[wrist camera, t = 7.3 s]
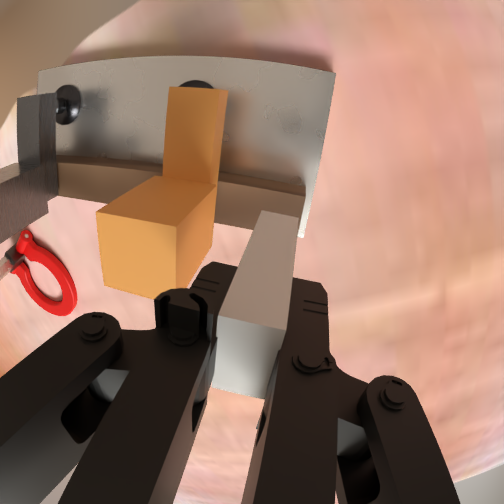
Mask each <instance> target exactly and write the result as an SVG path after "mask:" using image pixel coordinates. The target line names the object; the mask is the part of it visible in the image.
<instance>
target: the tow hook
mask: <svg viewBox="0 0 504 504" xmlns="http://www.w3.org/2000/svg"><path fill="white" fill-rule="evenodd" d="M32 238H33V236H32V233H31V232H30V231H28V230H23V231H22V232H21V234H20V237H19V239H18V242H17V243H16V244H15V245H14V246H13V247H11V248H10V249H9V250H8V251H6V253H5V256H4V257H3V258H2V259H1V260H0V280H1V279H2V278H4V277H5V276H6V275H7V274H8V273H9V272H10V273H12V274H16V275H17V276H18V277H19V278H20V280H21V283H22V284H23V286H24V288H25V290H26V291H27V293H28V294H29V295H30V297H31V298H32V299H33V300H34V301H35V302H36V303H37V304H38V305H39V306H40V307H42V308H43V309H44V310H46V311H48V312H50V313H51V314H54V315H58V316H66V315H68V314H70V313H71V312H72V311H73V309H74V308H75V306H76V304H77V292H76V288H75V285H74V282H73V280H72V278H71V277H70V275H69V273H68V271H67V270H66V268H65V267H64V266H63V264H62V263H61V262H60V261H59V260H58V259H57V258H56V257H55V256H54V255H53V254H52V253H50V252H49V251H48V250H46V249H44V248H42V247H40V246H37V245H36V243H35V242H34V241H33V240H32ZM25 256H26V257H27V258H28V259H29V260H30V261H36V262H39V263H41V264H43V265H44V266H45V267H47V268H48V269H49V270H50V271H51V272H52V273H53V275H54V276H55V278H56V279H57V281H58V282H59V284H60V286H61V289H62V294H63V299H62V301H60V302H56V301H52V300H50V299H48V298H47V297H46V296H44V295H43V294H42V293H41V292H40V291H39V290H38V288H37V287H36V286H35V284H34V282H33V281H32V279H31V276H30V273H29V269H28V267H27V266H26V265H25V264H24V263H23V261H24V258H25Z"/></svg>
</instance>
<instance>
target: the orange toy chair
mask: <svg viewBox="0 0 504 504" xmlns="http://www.w3.org/2000/svg"><path fill="white" fill-rule="evenodd" d="M227 98H228V90H221V89H209V88H194V87H169V93H168V103H167V114H166V126H165V139H164V155H163V175H162V176H154V177H152V178H150V179H148V180H147V181H145V182H143V183H141V184H140V185H138V186H136V187H135V188H133V189H131V190H130V191H128V192H126V193H125V194H123V195H122V196H120V197H118V198H117V199H115V200H113V201H112V202H110V203H109V204H107V205H106V206H104V207H102V208H101V209H99V210H98V211H96V220H97V232H98V241H99V250H100V259H101V266H102V273H103V280H104V286H107V287H111V288H114V289H118V290H121V291H125V292H128V293H132V294H135V295H139V296H142V297H146V298H150V299H153V300H154V299H155V298H156V297H157V296H158V295H159V294H160V293H162V292H165V291H167V290H169V289H176V288H186V287H187V286H188V284H189V282H190V281H191V279H192V277H193V276H194V274H195V272H196V271H197V269H198V267H199V266H200V264H201V263H202V261H203V259H204V258H205V256H206V254H207V253H208V251H209V249H210V248H211V246H212V238H213V227H214V216H215V205H216V195H217V183H218V173H219V164H220V155H221V146H222V138H223V130H224V121H225V113H226V106H227Z"/></svg>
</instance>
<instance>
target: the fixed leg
mask: <svg viewBox="0 0 504 504" xmlns="http://www.w3.org/2000/svg"><path fill="white" fill-rule="evenodd" d="M66 106H67V103H66V100H65V99H64V98H63V97H60V98H57V92H54V93H46V94H39V95H32V96H26V97H21V98H17V145H18V162H19V163H14V164H11V165H9V166H6V167H4V168H1V169H0V244H1V243H2V242H4V241H5V240H7V239H8V238H9V237H11V236H12V235H14V234H15V233H17V232H18V231H20V230H22V229H23V228H25V227H26V226H28V225H29V224H31V223H33V222H34V221H36V220H37V219H39V218H41V217H42V216H44V215H45V214H47V213H49V212H48V204H47V201H49V200H50V199H52V198H54V197H56V196H58V195H59V192H58V180H57V163H56V115H57V114H62V113H63V112H64V111H65V110H66Z"/></svg>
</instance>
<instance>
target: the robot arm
mask: <svg viewBox="0 0 504 504" xmlns="http://www.w3.org/2000/svg"><path fill="white" fill-rule="evenodd" d="M298 220H299V218H297V217H293V216H288V215H283V214H278V213H273V212H268V211H263V210H262V211H261V213H260V216H259V218H258V220H257V223H256V225H255V228H254V230H253V232H252V235H251V237H250V240H249V242H248V244H247V247H246V249H245V251H244V254H243V256H242V259H241V261H240V263H239V266H238V267H236V266H232V265H227V264H223V263H218V262H211V263H209V264H208V265H206V266H204V267H203V268H202V269H201V270H200V272H199V274H198V275H197V277H196V279H195V280H194V282H193V284H192V286H191V287H190V289H188V288H176V289H169V290H167V291H165V292H162V293H160V294H159V295H158V296H157V297H156V298H155V299H154V306H155V320H156V328H155V329H151V330H124V329H121V327H120V325H119V322H118V321H117V320H116V319H115V318H114V317H113V316H111V315H109V314H106V313H102V312H92V313H87V314H84V315H82V316H80V317H78V318H76V319H75V320H74V321H72V322H71V323H70V324H68V325H67V326H66V327H64V328H63V329H62V330H60V331H59V332H58V333H56V334H55V335H54V336H52V337H51V338H50V339H49V340H47V341H46V342H45V343H43V344H42V345H41V346H40V347H38V348H37V349H36V350H34V351H33V352H32V353H31V354H29V355H28V356H27V357H26V358H24V359H23V360H22V361H21V362H19V363H18V364H17V365H16V366H14V367H13V368H12V369H11V370H9V371H8V372H7V373H6V374H5V375H3V376H2V377H1V378H0V504H40V503H41V502H42V501H43V499H44V498H45V497H46V496H47V495H48V494H49V493H50V492H51V491H52V490H53V489H54V488H55V487H56V486H57V485H58V484H59V483H60V482H61V481H62V480H63V478H64V477H65V476H66V475H67V474H68V473H69V472H70V471H71V470H72V469H73V468H74V467H75V466H76V465H77V464H78V465H77V467H76V469H75V471H74V473H73V474H72V476H71V479H70V480H69V482H68V484H67V486H66V488H65V490H64V492H63V494H62V496H61V498H60V500H59V502H58V504H173V501H174V498H175V495H176V492H177V489H178V487H179V484H180V481H181V478H182V475H183V472H184V469H185V466H186V463H187V460H188V457H189V454H190V452H191V449H192V446H193V443H194V440H195V437H196V434H197V431H198V428H199V425H200V422H201V419H202V416H203V413H204V410H205V407H206V405H207V394H208V391H209V388H210V385H211V382H212V387H213V388H217V389H221V390H225V391H229V392H233V393H237V394H242V395H246V396H251V397H256V398H260V399H265V402H264V407H263V410H262V412H261V415H260V418H259V421H258V424H257V427H256V429H258V430H257V434H256V439H255V444H254V449H253V453H252V458H251V463H250V467H249V472H248V476H247V481H246V485H245V489H244V494H243V498H242V502H241V504H335V491H336V494H337V498H338V503H339V504H460V501H459V498H458V495H457V493H456V490H455V487H454V484H453V481H452V479H451V476H450V473H449V471H448V468H447V465H446V463H445V460H444V458H443V455H442V453H441V450H440V448H439V445H438V443H437V440H436V438H435V436H434V433H433V431H432V429H431V426H430V424H429V422H428V419H427V417H426V415H425V413H424V410H423V408H422V406H421V404H420V402H419V400H418V397H417V395H416V393H415V392H414V390H413V389H412V387H411V386H410V385H409V384H407V383H406V382H405V381H404V380H402V379H400V378H397V377H394V376H386V375H383V376H380V377H376V378H375V379H373V380H372V381H371V382H370V383H369V384H368V383H366V382H364V381H361V380H359V379H356V378H354V377H352V376H350V375H348V374H346V373H344V372H343V371H342V370H341V369H339V368H338V367H337V365H336V361H335V359H334V357H333V356H332V355H331V353H330V350H329V320H328V307H327V306H328V297H327V292H326V291H325V289H324V288H323V286H322V285H321V283H318V282H313V281H308V280H303V279H298V278H294V277H293V270H294V260H295V251H296V241H297V231H298Z"/></svg>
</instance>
